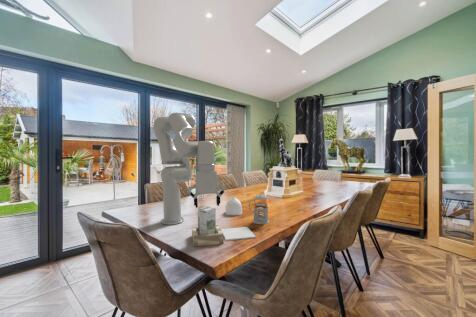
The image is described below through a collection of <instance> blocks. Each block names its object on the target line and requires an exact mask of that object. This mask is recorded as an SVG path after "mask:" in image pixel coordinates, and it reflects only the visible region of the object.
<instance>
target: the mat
mask: <svg viewBox="0 0 476 317" xmlns="http://www.w3.org/2000/svg"><path fill="white" fill-rule="evenodd" d="M220 229H221V231H222V233H223V239H225V241H226V242H228V241H236V240H238V241H239V240H246V239H256V235H255V234H254V232H252V231H251V229H250V228H249V227H248V226H243V227H241V226H240V227H231V228H220Z"/></svg>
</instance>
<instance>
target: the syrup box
mask: <svg viewBox="0 0 476 317" xmlns="http://www.w3.org/2000/svg"><path fill="white" fill-rule="evenodd" d="M197 215H198V216H197V222H198V223H197V227H198V235H206V234H216V217H217V216H216V208H215V207H212V206H204V207H200V208H198V209H197Z"/></svg>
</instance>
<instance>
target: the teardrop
mask: <svg viewBox="0 0 476 317" xmlns="http://www.w3.org/2000/svg"><path fill="white" fill-rule="evenodd" d="M224 213H225V215H227V216H239V215H242V214H243V205H242V203H241V201H240V200H239V199H238V198H237V197H235V195H234V194H233V196H232V197H231V198H230V199H228V201H227V202H226V205H225V212H224Z"/></svg>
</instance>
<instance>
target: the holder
mask: <svg viewBox="0 0 476 317" xmlns="http://www.w3.org/2000/svg"><path fill="white" fill-rule="evenodd" d="M221 229H222V228H221V227H220V225H219V224H217V225H216V234H206V235H198V226H195V227H193V226H192V227H191V236H192V237H191V238H192V245H193V247H202V246H203V247H204V246H211V245H220V244H224V236H223V233H222V231H221Z"/></svg>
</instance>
